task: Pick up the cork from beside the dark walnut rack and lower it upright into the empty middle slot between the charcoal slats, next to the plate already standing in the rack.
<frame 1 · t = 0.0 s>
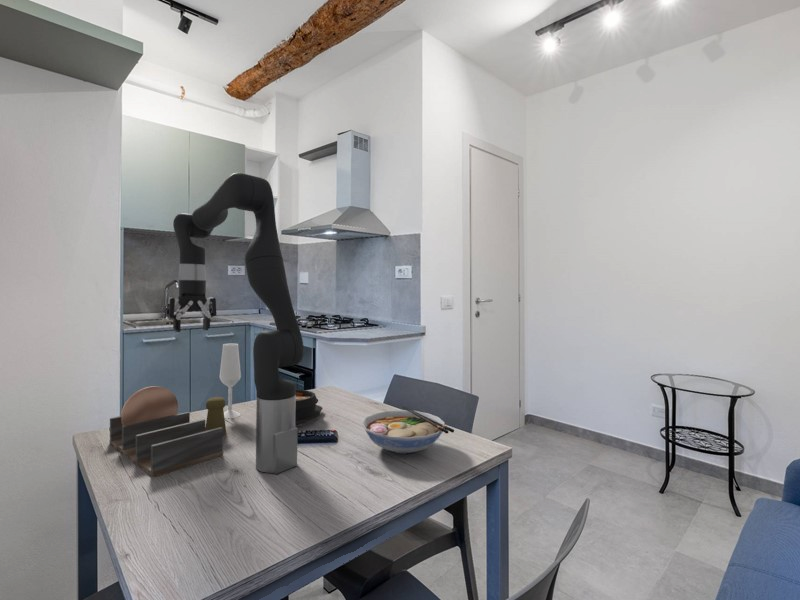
hand: (192, 330, 128), 29 cm above the table, tool pointing down, fingers open, 8 cm apart
ramen bowl: (403, 449, 112), on the table
champagne flute: (229, 415, 137), on the table
rack: (164, 448, 108), on the table
cork: (215, 435, 119), on the table
casserole: (291, 421, 134), on the table
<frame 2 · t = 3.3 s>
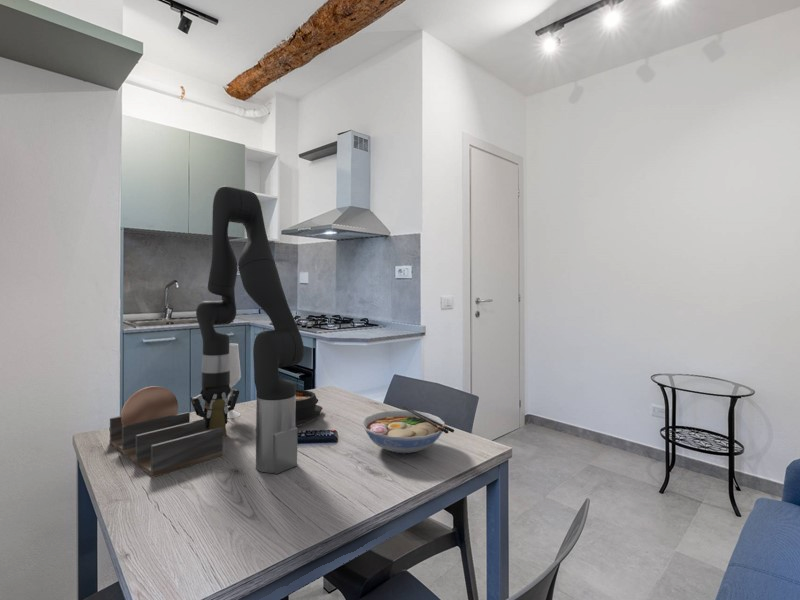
hand: (215, 427, 119), 2 cm above the table, tool pointing down, fingers closed on cork, 3 cm apart
cork: (215, 435, 119), on the table, touching gripper
everything else where it was.
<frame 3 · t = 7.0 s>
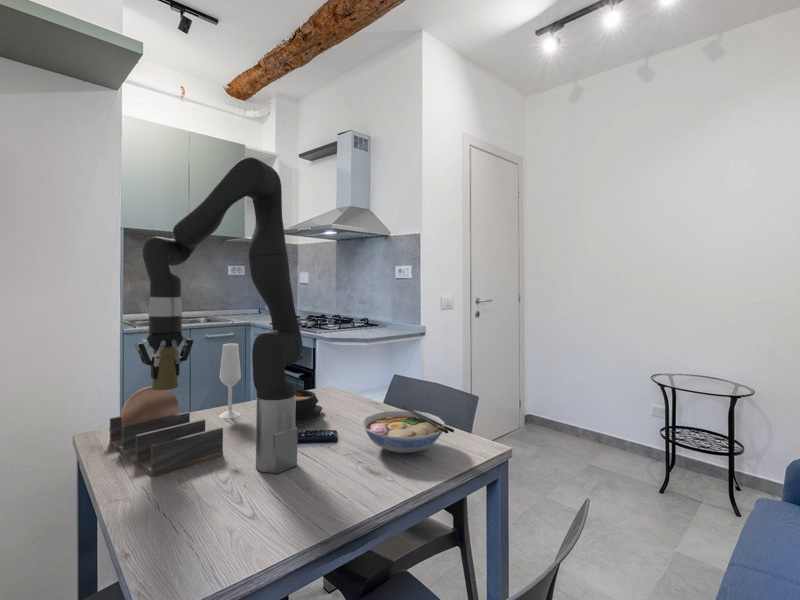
hand: (165, 378, 108), 19 cm above the table, tool pointing down, fingers closed on cork, 3 cm apart
cork: (165, 388, 108), point 16 cm above the table, touching gripper
everything else where it was.
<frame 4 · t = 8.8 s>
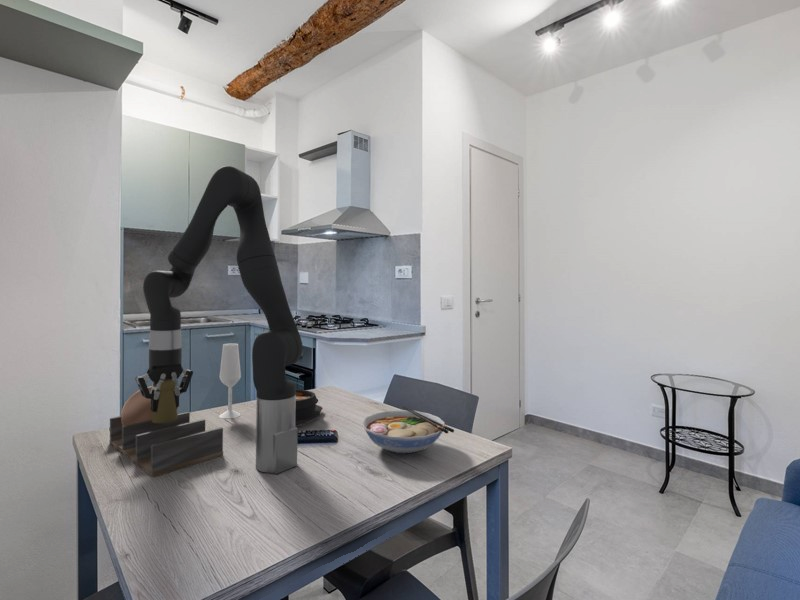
hand: (165, 410, 108), 10 cm above the table, tool pointing down, fingers closed on cork, 3 cm apart
cork: (164, 420, 108), point 8 cm above the table, touching gripper
everything else where it was.
when the fingers open (5 cm above the table, at t = 10.5 s): cork drops 1 cm, resting on rack.
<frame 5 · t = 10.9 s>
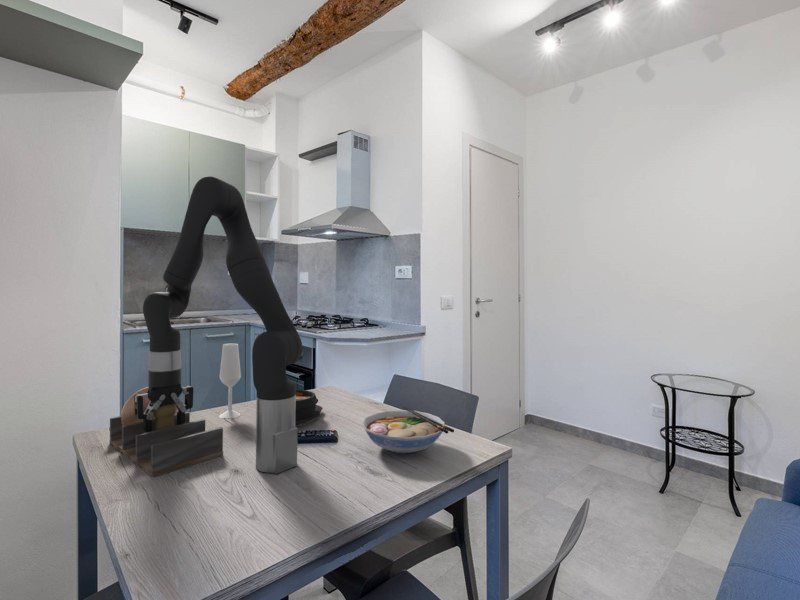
hand: (164, 429, 108), 5 cm above the table, tool pointing down, fingers open, 7 cm apart
cork: (164, 446, 108), point 1 cm above the table, touching rack
everything else where it was.
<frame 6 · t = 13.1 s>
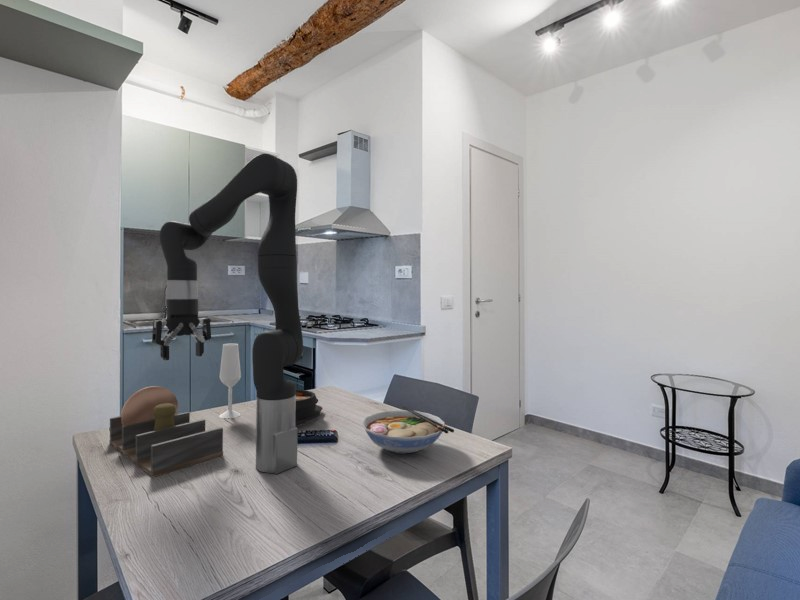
hand: (183, 357, 109), 24 cm above the table, tool pointing down, fingers open, 8 cm apart
nothing on the table moved.
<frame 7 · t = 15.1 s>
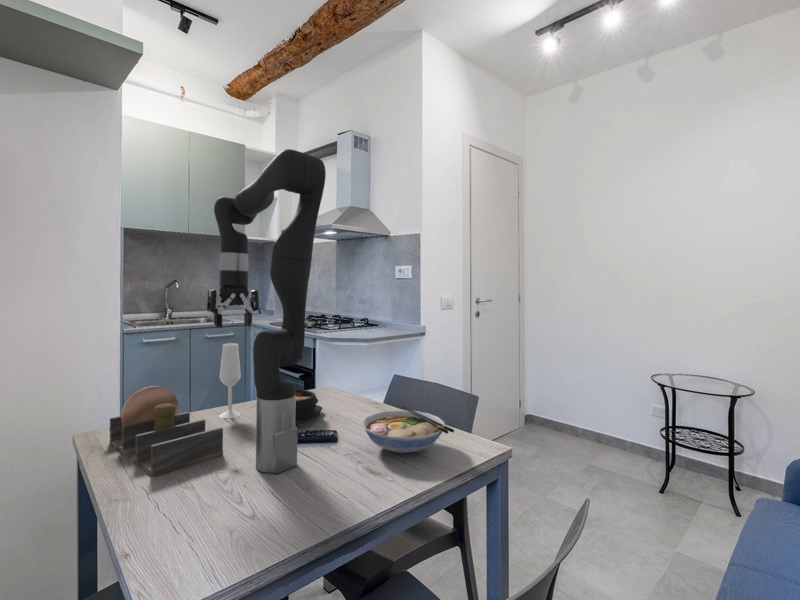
hand: (233, 326, 116), 32 cm above the table, tool pointing down, fingers open, 8 cm apart
nothing on the table moved.
at the end: cork inside the target area on the rack (0.1 cm from its centre), point 0.8 cm above the rack's base; cork tilted 0°; the gripper is holding nothing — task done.
